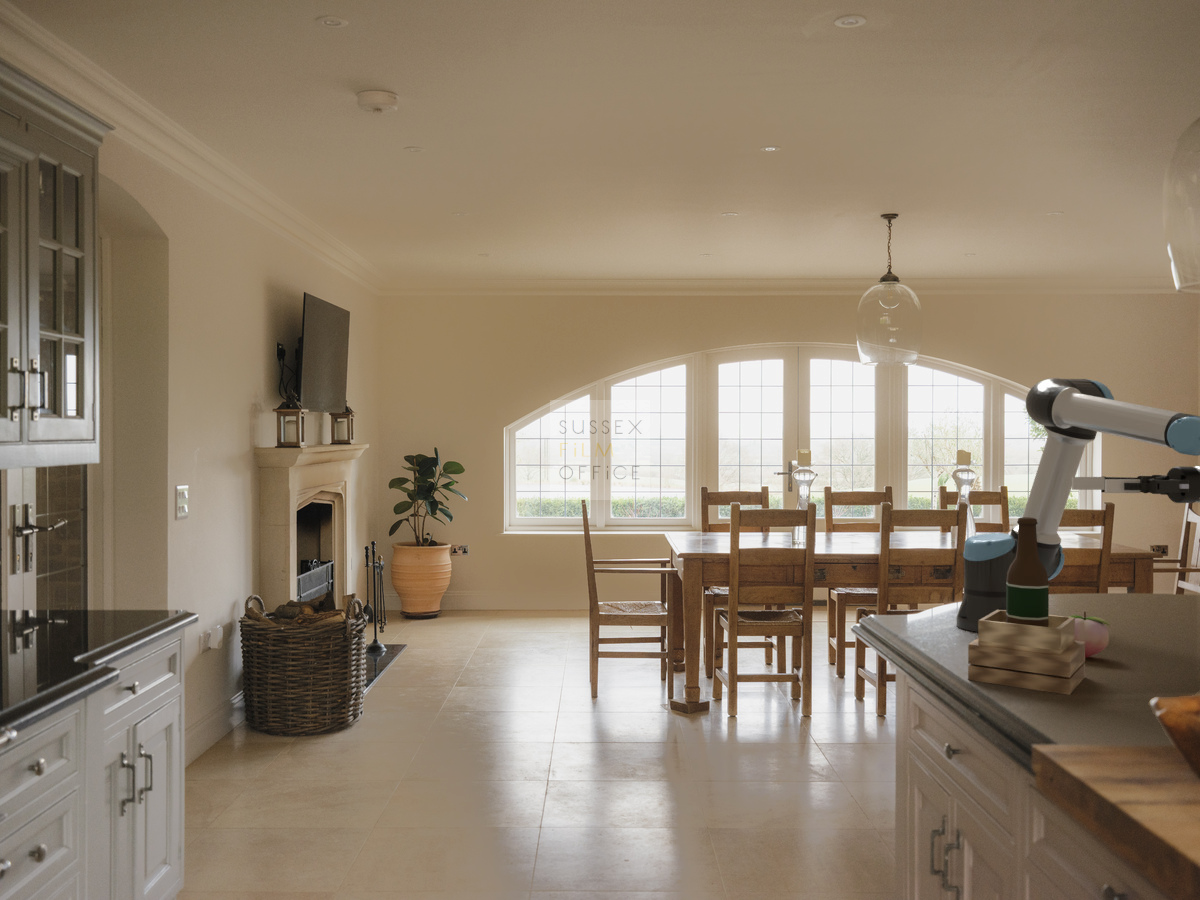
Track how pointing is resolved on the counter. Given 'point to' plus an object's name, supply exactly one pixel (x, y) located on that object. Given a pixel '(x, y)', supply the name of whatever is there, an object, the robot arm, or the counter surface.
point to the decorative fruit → (1091, 633)
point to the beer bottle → (1027, 580)
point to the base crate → (1028, 667)
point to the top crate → (1027, 634)
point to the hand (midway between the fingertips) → (1088, 484)
